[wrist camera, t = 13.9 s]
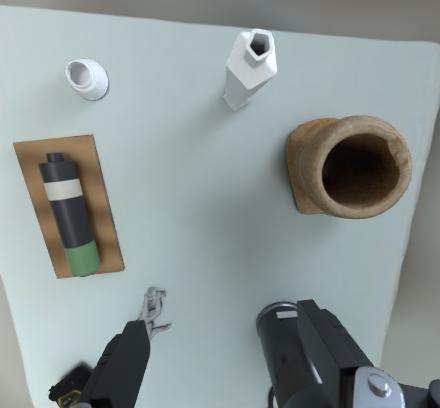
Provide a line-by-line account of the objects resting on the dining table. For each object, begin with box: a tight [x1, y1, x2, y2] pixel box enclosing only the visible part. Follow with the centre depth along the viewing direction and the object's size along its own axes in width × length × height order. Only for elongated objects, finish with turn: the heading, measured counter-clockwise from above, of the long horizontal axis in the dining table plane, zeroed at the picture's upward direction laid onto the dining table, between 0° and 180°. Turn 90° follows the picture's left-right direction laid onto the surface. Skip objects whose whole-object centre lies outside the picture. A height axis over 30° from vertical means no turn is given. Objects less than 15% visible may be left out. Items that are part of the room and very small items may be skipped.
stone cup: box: [287, 116, 412, 219], centre depth 26 cm, size 15×12×15 cm
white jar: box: [66, 58, 108, 100], centre depth 28 cm, size 5×3×5 cm
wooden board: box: [13, 135, 124, 279], centre depth 33 cm, size 22×11×1 cm, turn 6°
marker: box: [38, 153, 101, 277], centre depth 31 cm, size 18×4×4 cm
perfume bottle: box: [223, 29, 277, 111], centre depth 23 cm, size 5×4×15 cm
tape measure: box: [49, 367, 92, 408], centre depth 40 cm, size 7×7×4 cm
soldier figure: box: [138, 291, 171, 341], centre depth 37 cm, size 8×5×12 cm
